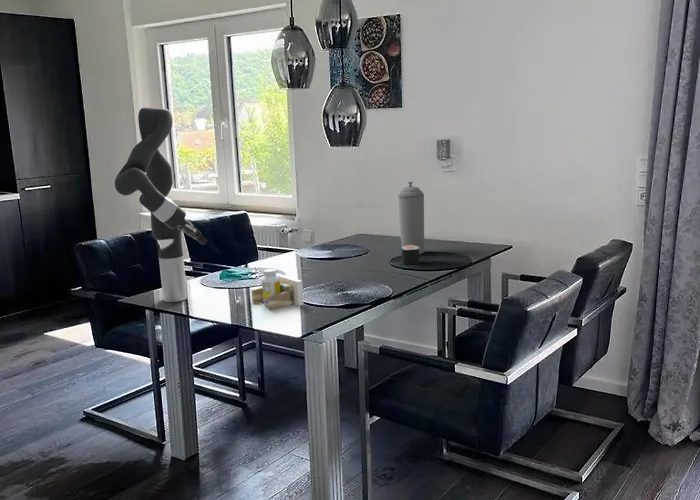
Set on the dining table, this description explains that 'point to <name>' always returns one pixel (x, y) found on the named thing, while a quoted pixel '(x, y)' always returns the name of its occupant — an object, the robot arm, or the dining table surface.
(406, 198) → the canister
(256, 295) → the cradle
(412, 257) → the sushi
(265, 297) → the supplement bottle
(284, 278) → the backstop board
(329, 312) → the dining table surface
